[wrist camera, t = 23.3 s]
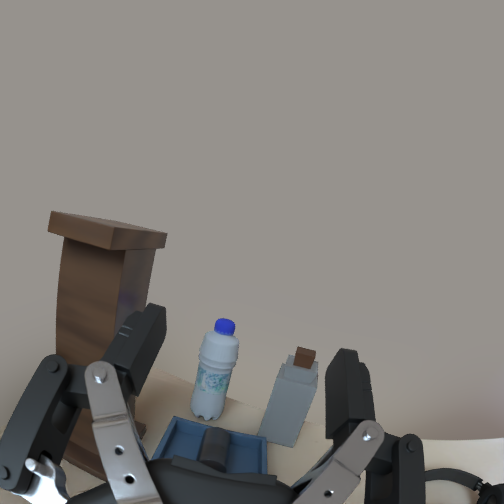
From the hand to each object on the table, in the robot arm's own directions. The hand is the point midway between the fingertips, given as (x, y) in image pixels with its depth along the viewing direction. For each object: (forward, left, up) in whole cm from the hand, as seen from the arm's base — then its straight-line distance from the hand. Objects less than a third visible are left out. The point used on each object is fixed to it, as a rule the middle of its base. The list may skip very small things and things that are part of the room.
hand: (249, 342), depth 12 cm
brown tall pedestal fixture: (-3, +23, -29) cm, 37 cm away
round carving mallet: (+8, +10, -28) cm, 31 cm away
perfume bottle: (+28, +18, -29) cm, 44 cm away
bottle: (+18, +28, -29) cm, 44 cm away
